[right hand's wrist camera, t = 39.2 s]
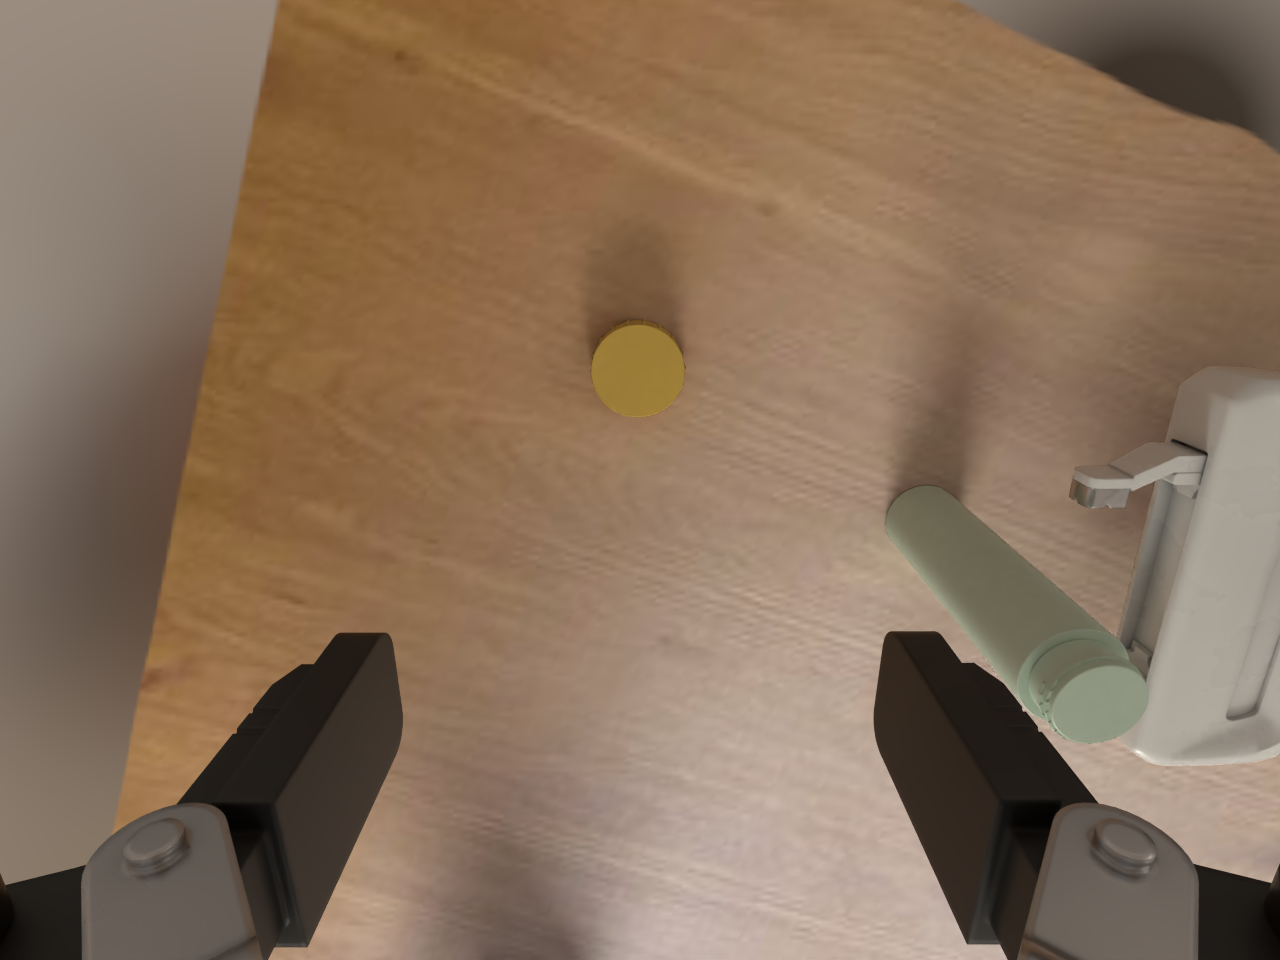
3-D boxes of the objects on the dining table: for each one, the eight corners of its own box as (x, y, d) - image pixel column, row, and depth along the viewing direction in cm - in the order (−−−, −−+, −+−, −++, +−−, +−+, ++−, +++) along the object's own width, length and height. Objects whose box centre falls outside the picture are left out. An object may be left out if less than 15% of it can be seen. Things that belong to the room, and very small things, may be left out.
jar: (876, 501, 40) (1028, 679, 24) (947, 474, 39) (1150, 638, 24) (897, 561, 41) (1054, 767, 25) (966, 536, 40) (1170, 730, 25)
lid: (604, 418, 38) (602, 427, 36) (582, 329, 36) (579, 334, 35) (691, 399, 38) (693, 408, 36) (673, 309, 36) (675, 313, 34)
